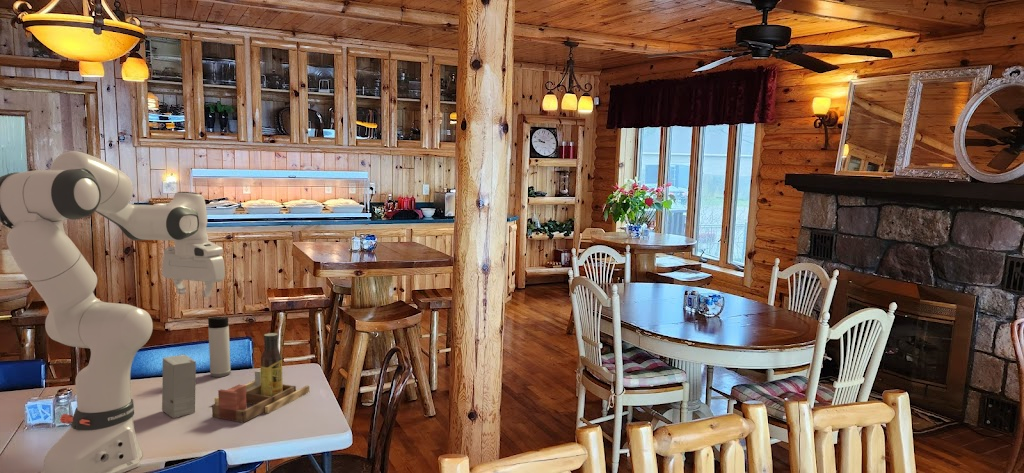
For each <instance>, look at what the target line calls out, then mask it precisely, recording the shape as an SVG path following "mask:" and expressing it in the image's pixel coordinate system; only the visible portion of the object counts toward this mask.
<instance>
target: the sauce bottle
mask: <svg viewBox="0 0 1024 473" xmlns="http://www.w3.org/2000/svg"><path fill="white" fill-rule="evenodd" d="M278 335H279V334H278V333H276V332H268V333H264V334H263V340H264V347H263V348H264V350H263V351H262V354H261V356H260V369H261V394H262V395H266V396H274V395H276V394H278V393H280V392H282V391H283V384H284V382H283V358H282V356H281V354H280V350H279V347H278V339H279V336H278Z"/></svg>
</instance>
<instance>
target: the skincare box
mask: <svg viewBox="0 0 1024 473" xmlns="http://www.w3.org/2000/svg"><path fill="white" fill-rule="evenodd" d="M196 362H197V361H196V360H195V359H193V358H192V356H191V357H190V356H188V355H186V354H179V355H173V356H165V357H163V358H162V390H161V391H162V392H161V395H162V398H161V401H162V402H161V411H162V412H164V413H165V414H167V415H168V416H169V417H171V418H173V419H176V418H179V417H183V416H188V415H192V414H195V413H196V374H197V371H196V370H197V369H196V368H197V367H196V366H197V363H196Z"/></svg>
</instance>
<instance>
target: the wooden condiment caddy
mask: <svg viewBox="0 0 1024 473" xmlns="http://www.w3.org/2000/svg"><path fill="white" fill-rule="evenodd" d="M296 388H297V386H296V385H291V384H284V383H283V391H282V392H280V393H278V394H276V395H274V396H266V395H262V394H261V385H258V386H256V387H254V388H252V389H250V390H247V391H246V386H245V384H237V385H235V386H232V387H230V388H228V389H219V390H217V391H218V392H217V393H218V396H219V404H216V405H215V404H214V405H212V406H211V410H212V412H211V413H212V414H211V415H212V417H213V418H217V419H222V420H229V421H235V422H239V423H245V422H247V421H249V420H252V419H253V418H256V417H257V416H259V415H261V414H263V413H265V406H267V405H269V404H271V403H273V402H275V401H277V400H279V399H281V398H283V397H285V396H287V395H289V394H291V393H293V392H295V391H297V389H296ZM247 404H249V405H251V406H250V407H247Z"/></svg>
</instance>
